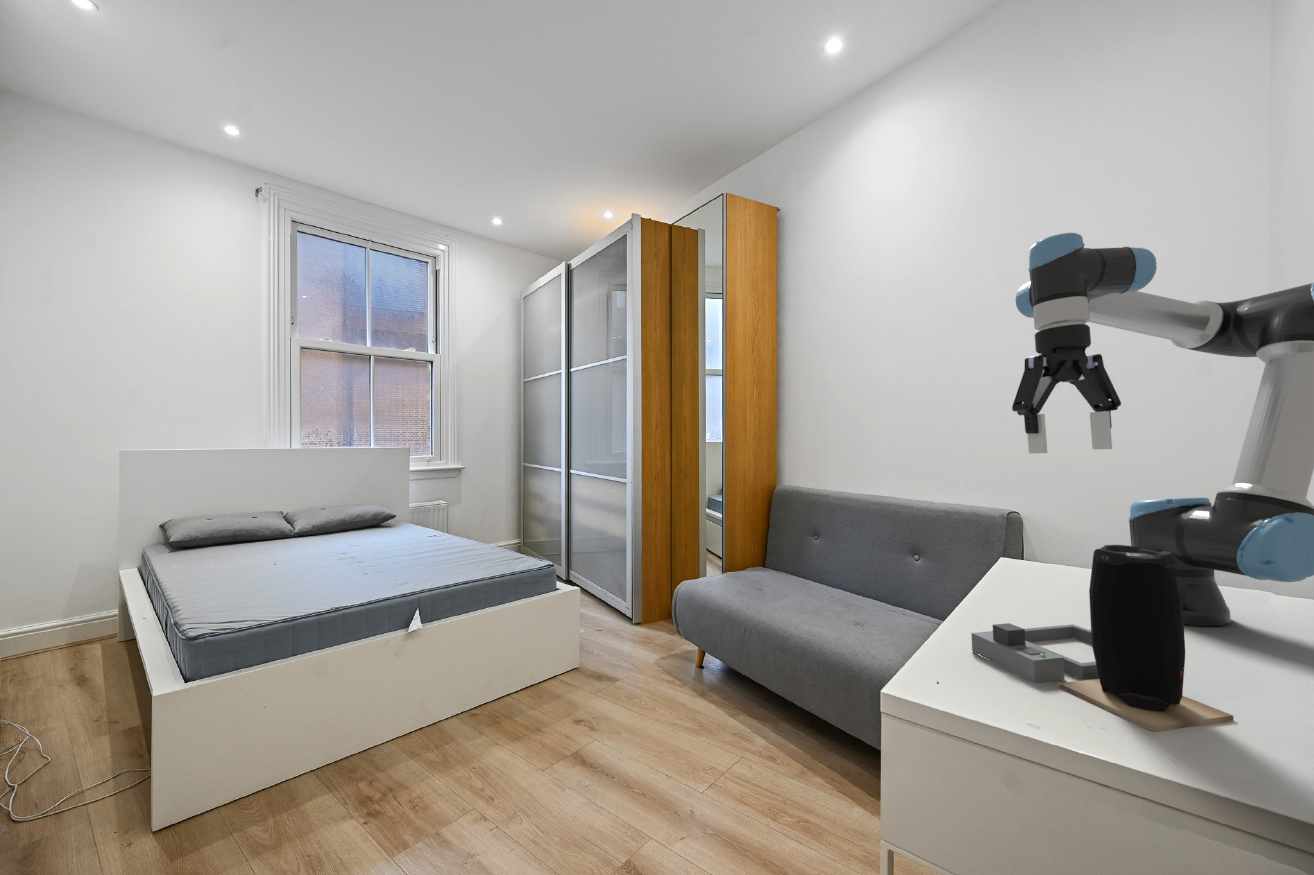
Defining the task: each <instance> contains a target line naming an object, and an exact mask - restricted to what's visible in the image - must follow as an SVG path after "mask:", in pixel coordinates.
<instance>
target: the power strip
mask: <svg viewBox="0 0 1314 875" xmlns="http://www.w3.org/2000/svg"><path fill="white" fill-rule="evenodd" d="M1025 629H1026V628H1024V627H1023V628H1022V627H1019V625H1014V624H1012V623H1008V622H1007V623H997V624H992V630H989V631H978V632H971V650H972V651H973V652H976V653H977V654H980V655H981V656H983V657H985V658H987V659H989V660H990V662H991V661H992V663H993V662H994V663H993V664H995V663H996V664H995V665H998V666H1000V667H1001V666H1002V668H1004V669H1005V670H1008V671H1010V672H1011V673H1014V674H1016V675H1018V676H1020V677H1022V678H1025V679H1026V680H1028V681H1030V682H1032V683H1035V684H1037V683H1046V682H1054V681H1055V682H1056V681H1064V680H1065V672H1064V658H1063V657H1061V656H1059V655H1056V654H1054V653H1051V652H1049V651H1047V650H1044V649H1042V648H1039V647H1037V646H1034V645H1032V644H1029V643H1027V642H1025ZM973 652H972V653H973ZM977 654H976V655H977ZM981 656H980V657H981ZM983 657H982V658H983ZM985 658H984V659H985ZM987 659H986V660H987ZM989 660H988V661H989Z"/></svg>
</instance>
